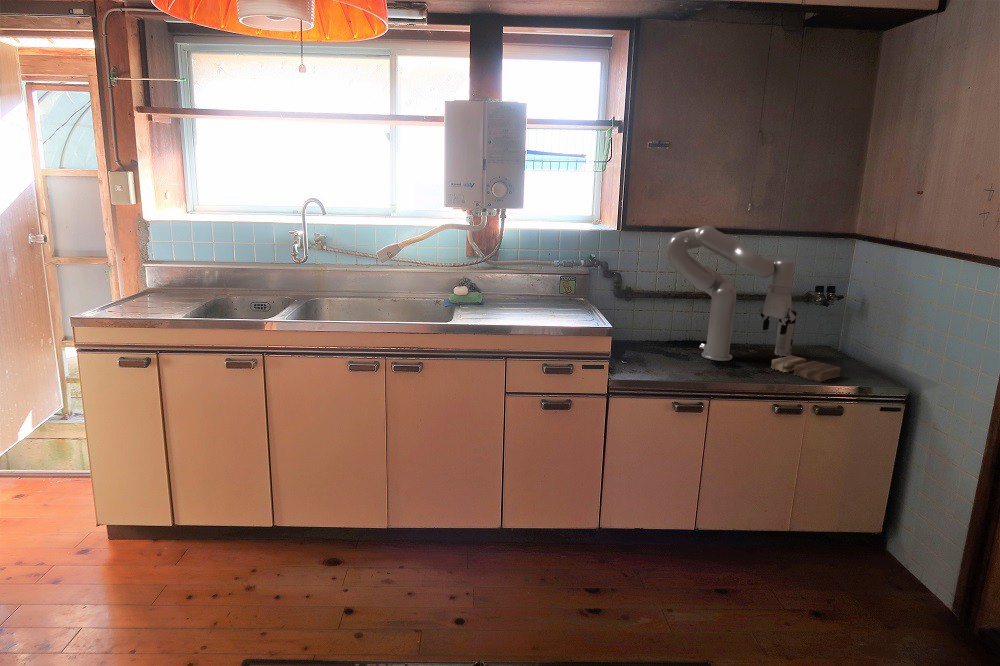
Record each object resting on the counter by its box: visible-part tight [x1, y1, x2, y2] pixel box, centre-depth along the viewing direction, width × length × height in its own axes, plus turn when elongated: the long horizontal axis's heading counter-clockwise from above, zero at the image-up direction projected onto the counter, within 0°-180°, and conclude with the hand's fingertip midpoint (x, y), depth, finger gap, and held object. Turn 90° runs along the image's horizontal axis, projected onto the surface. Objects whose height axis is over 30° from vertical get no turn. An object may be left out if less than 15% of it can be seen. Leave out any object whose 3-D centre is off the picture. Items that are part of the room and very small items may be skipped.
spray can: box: [774, 309, 797, 357], centre depth 286 cm, size 7×7×20 cm
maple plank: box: [770, 354, 807, 373], centre depth 267 cm, size 6×14×4 cm, turn 125°
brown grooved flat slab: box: [792, 360, 842, 382], centre depth 258 cm, size 12×14×4 cm
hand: (774, 331), depth 271 cm, fingers open, 7 cm apart
